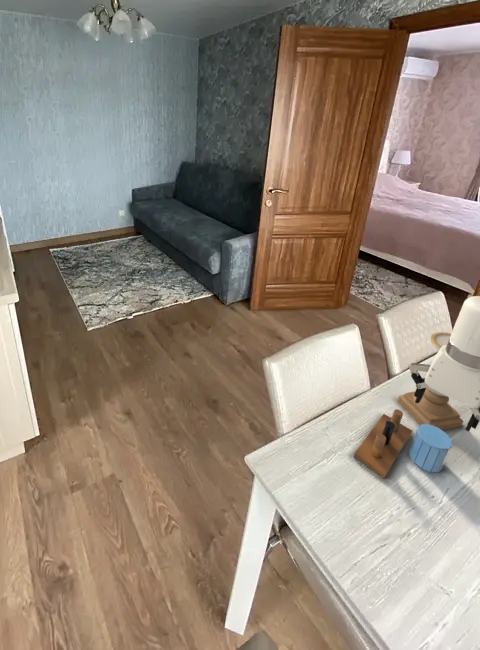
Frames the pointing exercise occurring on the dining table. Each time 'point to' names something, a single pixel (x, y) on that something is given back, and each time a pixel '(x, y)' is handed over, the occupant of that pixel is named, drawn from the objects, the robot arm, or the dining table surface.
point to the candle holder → (432, 400)
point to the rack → (383, 443)
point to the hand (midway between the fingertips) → (442, 413)
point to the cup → (430, 448)
